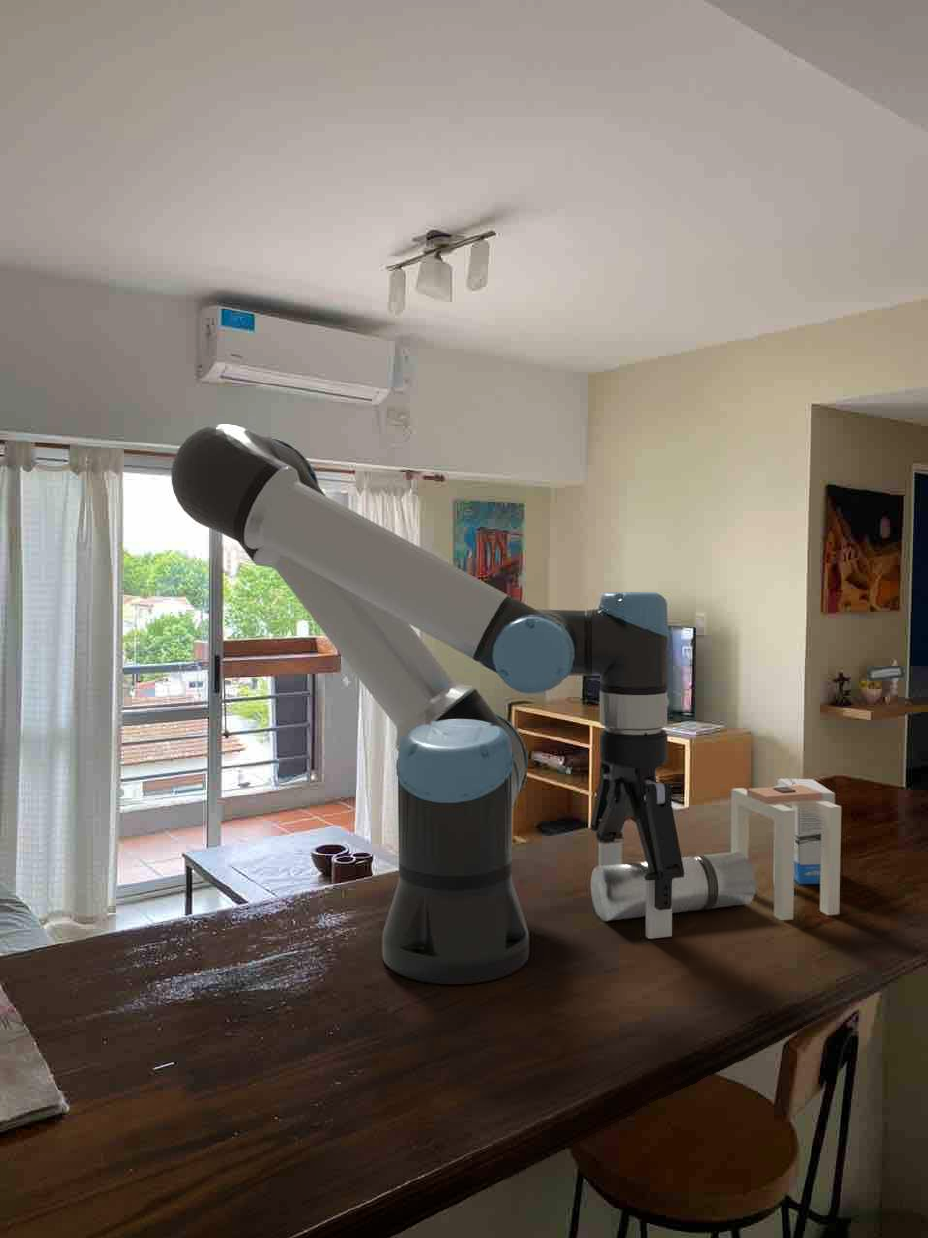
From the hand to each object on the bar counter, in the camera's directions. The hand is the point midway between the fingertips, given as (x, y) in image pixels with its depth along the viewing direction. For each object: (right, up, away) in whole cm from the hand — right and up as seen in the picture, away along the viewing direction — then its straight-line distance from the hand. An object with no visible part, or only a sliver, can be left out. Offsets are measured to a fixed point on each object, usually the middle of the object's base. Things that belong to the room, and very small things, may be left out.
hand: (633, 915), depth 107 cm
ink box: (+25, +1, +15) cm, 29 cm away
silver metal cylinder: (+5, 0, +1) cm, 5 cm away
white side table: (+19, 0, +5) cm, 19 cm away
